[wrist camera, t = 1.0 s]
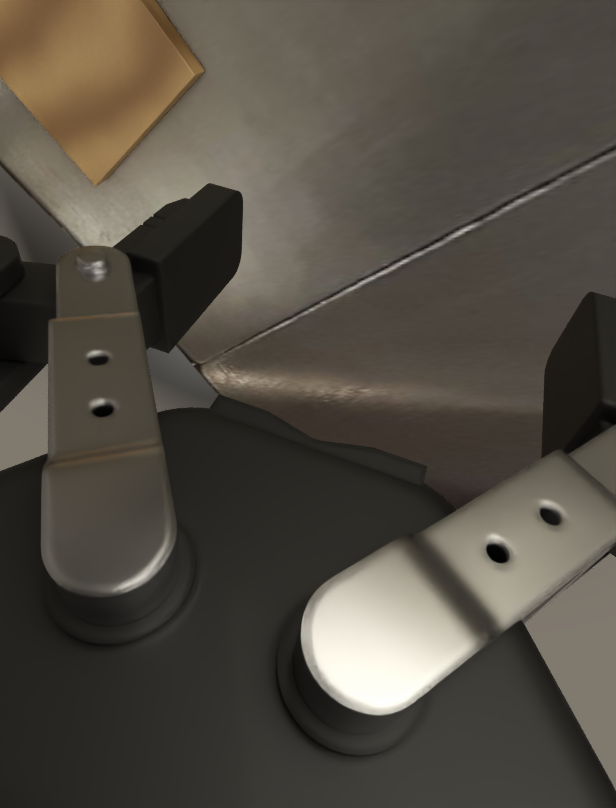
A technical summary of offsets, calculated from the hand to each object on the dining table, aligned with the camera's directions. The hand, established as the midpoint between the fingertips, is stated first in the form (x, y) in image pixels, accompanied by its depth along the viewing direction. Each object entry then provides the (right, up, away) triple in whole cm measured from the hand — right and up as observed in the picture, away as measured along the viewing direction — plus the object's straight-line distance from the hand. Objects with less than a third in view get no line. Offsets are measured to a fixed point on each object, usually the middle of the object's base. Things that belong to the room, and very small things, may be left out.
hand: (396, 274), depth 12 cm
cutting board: (-20, +25, +24) cm, 40 cm away
